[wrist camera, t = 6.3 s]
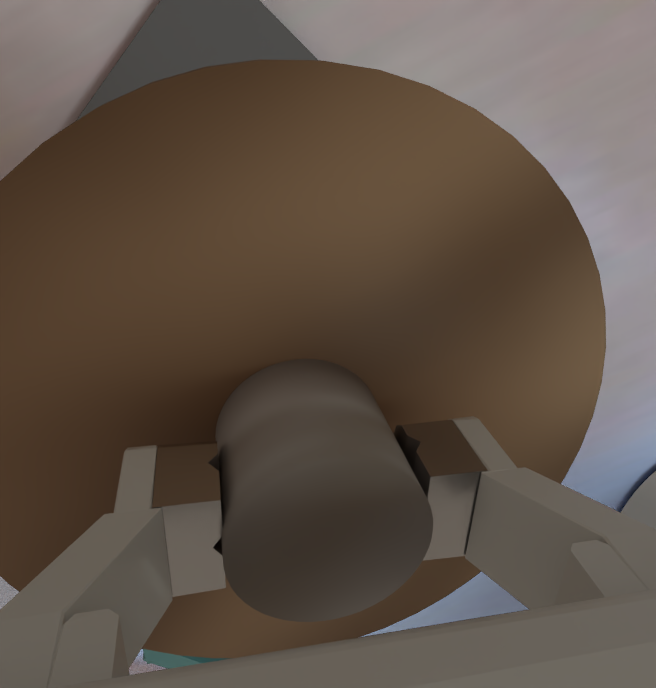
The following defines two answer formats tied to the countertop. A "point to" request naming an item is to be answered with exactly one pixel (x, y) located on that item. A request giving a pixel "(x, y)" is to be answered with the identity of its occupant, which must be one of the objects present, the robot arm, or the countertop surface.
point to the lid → (285, 331)
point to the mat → (198, 43)
